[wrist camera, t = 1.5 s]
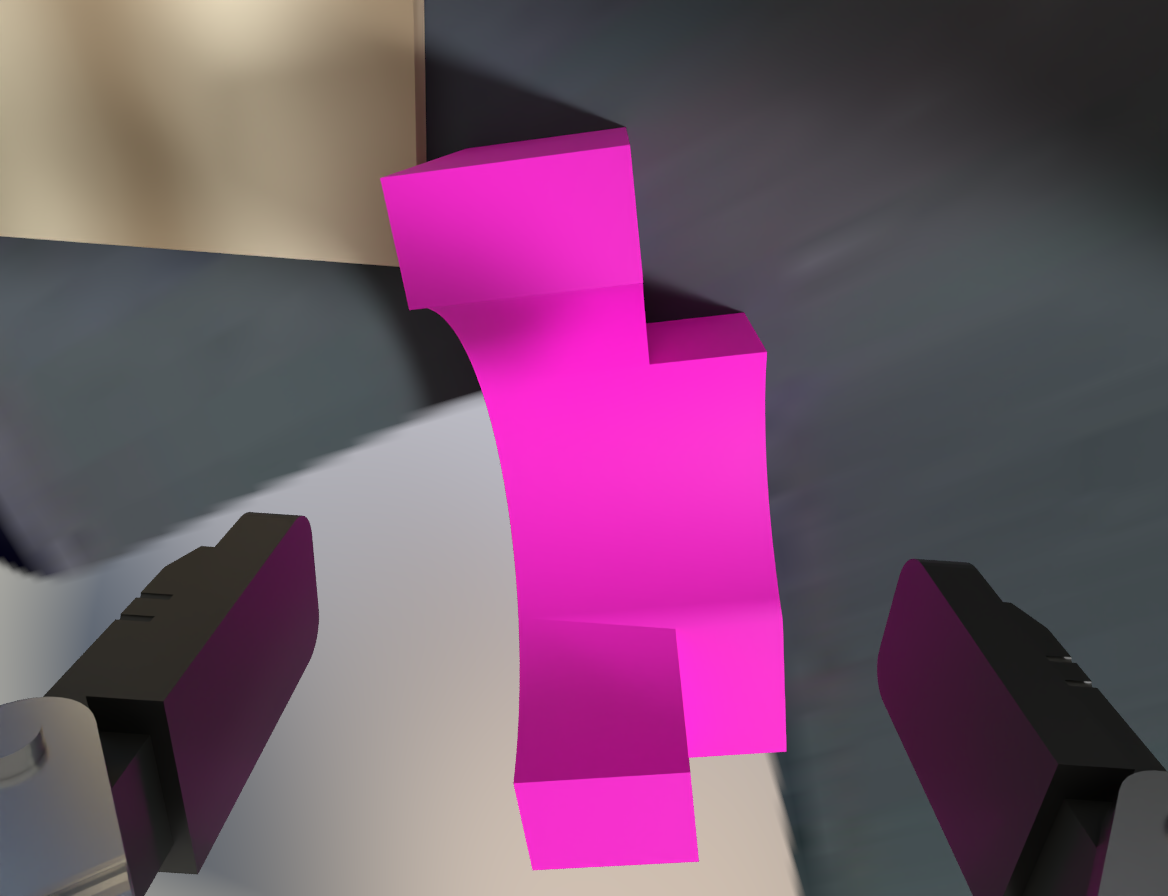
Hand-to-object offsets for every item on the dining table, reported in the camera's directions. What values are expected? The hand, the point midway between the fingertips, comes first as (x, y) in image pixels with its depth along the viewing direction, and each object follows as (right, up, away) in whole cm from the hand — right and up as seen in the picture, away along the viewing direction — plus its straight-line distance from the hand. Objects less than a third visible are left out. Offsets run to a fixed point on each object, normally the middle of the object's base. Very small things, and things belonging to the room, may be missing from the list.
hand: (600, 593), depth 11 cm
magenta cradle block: (+1, +3, +11) cm, 11 cm away
